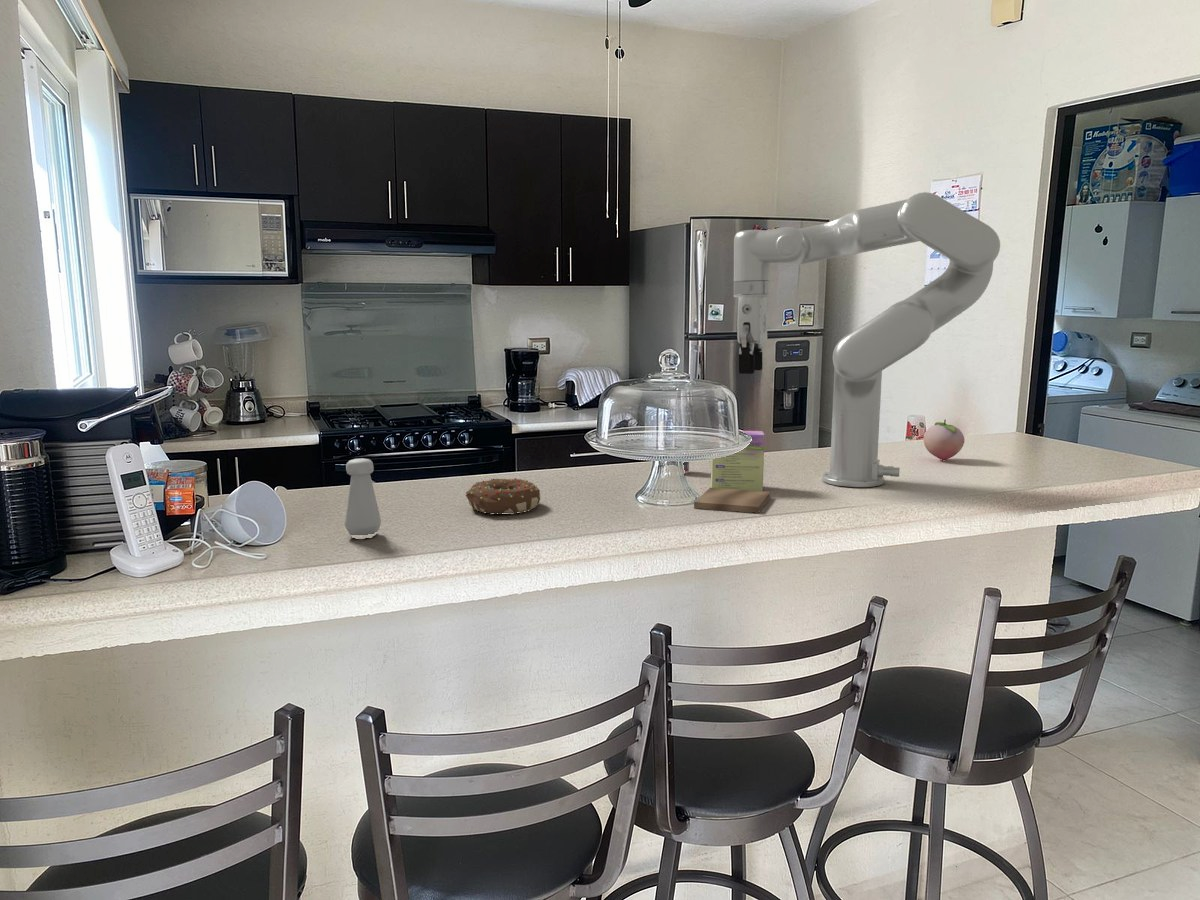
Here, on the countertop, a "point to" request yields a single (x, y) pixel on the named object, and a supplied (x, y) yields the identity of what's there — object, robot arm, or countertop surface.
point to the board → (732, 500)
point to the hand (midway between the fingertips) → (750, 371)
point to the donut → (503, 496)
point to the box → (741, 467)
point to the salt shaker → (361, 499)
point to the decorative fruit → (943, 440)
